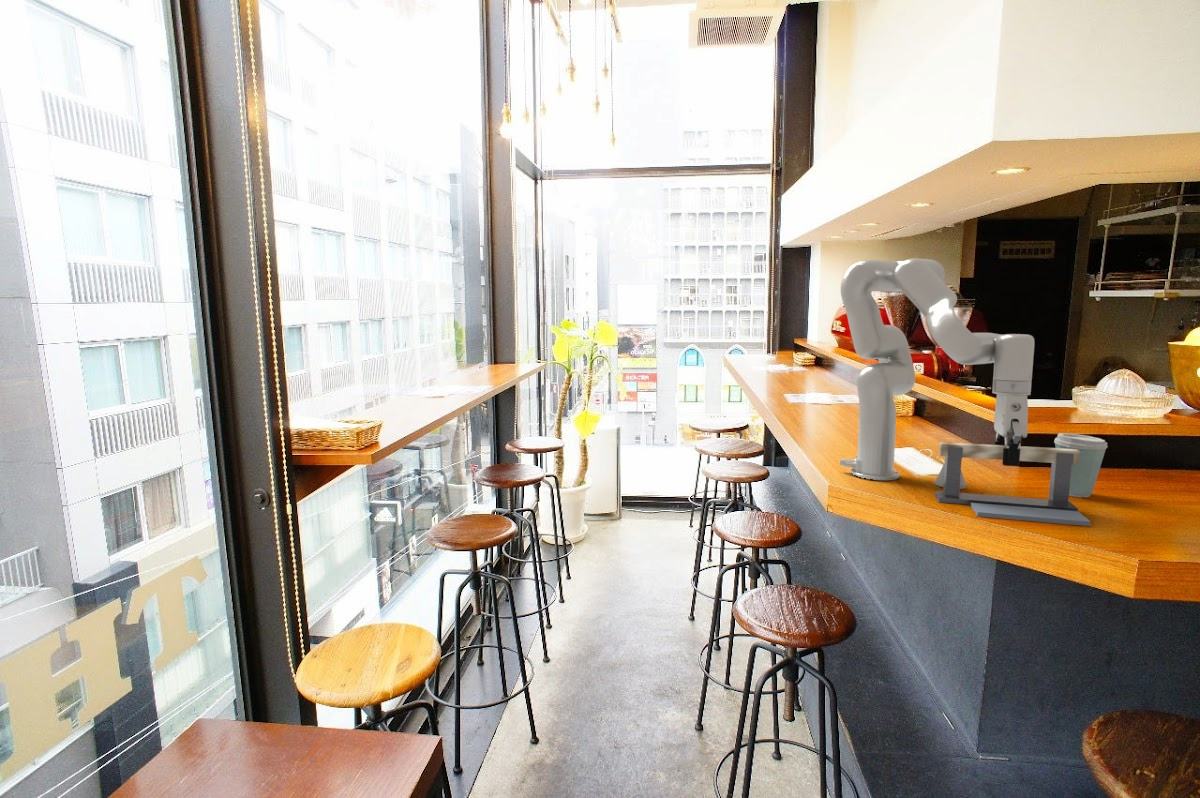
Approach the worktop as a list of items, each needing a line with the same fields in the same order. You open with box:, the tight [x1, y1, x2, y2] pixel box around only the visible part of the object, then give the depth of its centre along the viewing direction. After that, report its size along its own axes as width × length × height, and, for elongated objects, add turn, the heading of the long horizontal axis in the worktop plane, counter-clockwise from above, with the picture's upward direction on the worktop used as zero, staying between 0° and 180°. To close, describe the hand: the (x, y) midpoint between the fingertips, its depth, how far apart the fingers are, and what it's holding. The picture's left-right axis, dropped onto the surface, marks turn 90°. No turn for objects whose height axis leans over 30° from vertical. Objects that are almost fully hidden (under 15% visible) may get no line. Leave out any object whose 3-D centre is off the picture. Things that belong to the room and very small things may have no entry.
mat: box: [970, 503, 1092, 527], centre depth 142 cm, size 21×8×1 cm, turn 70°
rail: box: [938, 441, 1080, 464], centre depth 150 cm, size 28×2×3 cm, turn 70°
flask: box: [933, 461, 968, 490], centre depth 167 cm, size 7×7×10 cm
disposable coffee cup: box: [1053, 432, 1108, 498], centre depth 158 cm, size 11×11×15 cm
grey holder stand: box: [934, 447, 1079, 512], centre depth 150 cm, size 28×6×14 cm, turn 70°
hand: (1006, 461), depth 150 cm, fingers open, 7 cm apart
